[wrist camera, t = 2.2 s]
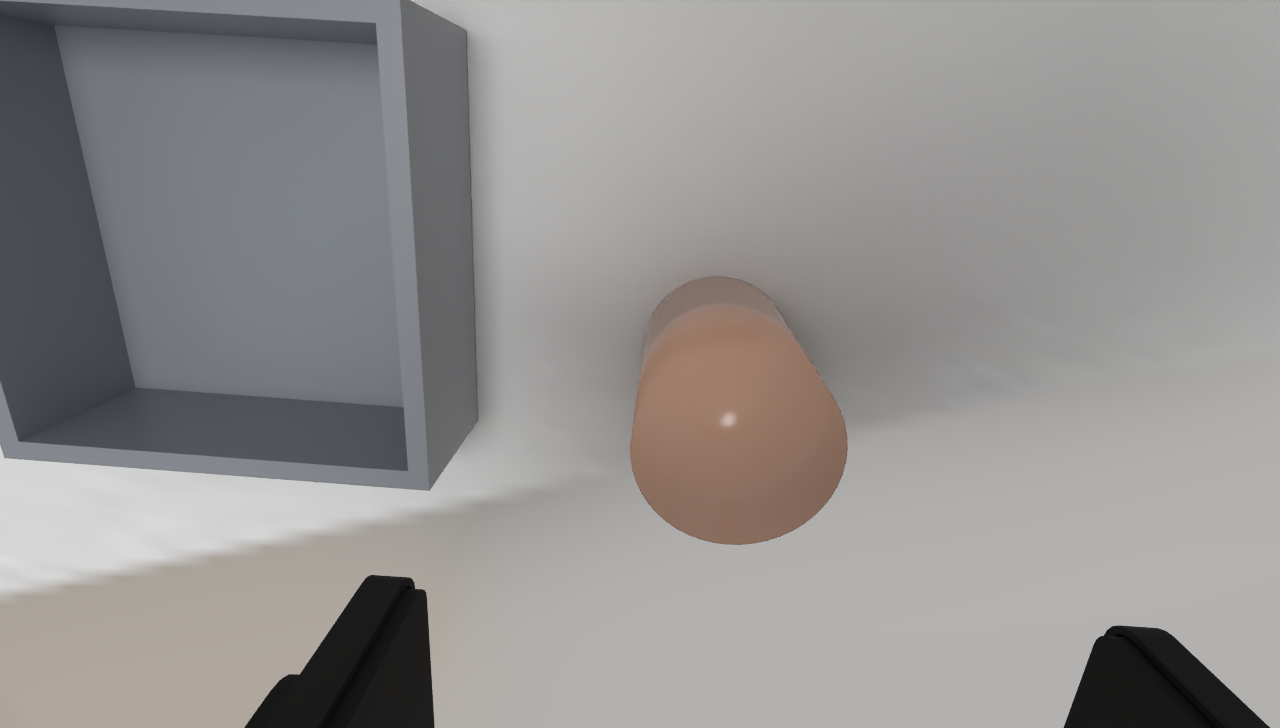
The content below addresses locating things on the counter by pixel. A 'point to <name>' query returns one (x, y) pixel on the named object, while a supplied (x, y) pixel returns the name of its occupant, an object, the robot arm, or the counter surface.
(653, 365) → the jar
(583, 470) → the counter surface
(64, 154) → the bin
